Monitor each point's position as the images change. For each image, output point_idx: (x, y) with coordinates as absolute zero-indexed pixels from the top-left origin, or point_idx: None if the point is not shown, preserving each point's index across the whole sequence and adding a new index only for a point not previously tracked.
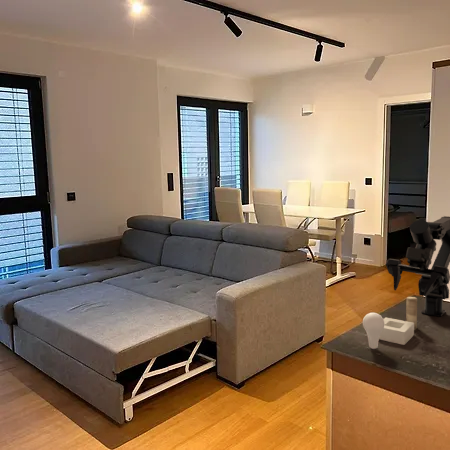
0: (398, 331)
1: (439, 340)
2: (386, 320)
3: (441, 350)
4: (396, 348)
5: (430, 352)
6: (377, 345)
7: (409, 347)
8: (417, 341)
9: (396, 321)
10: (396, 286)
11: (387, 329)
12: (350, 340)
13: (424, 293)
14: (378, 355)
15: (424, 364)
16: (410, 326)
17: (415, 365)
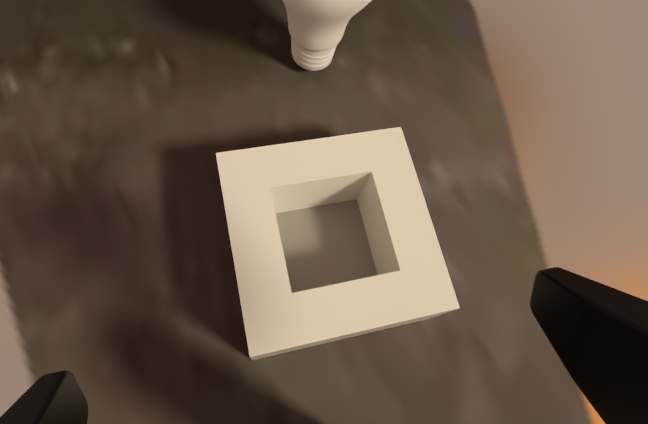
0: (255, 149)
1: None
2: (415, 256)
3: (23, 260)
4: (233, 128)
5: (69, 195)
6: (292, 48)
7: (187, 179)
8: (189, 283)
9: (357, 287)
10: (575, 329)
11: (323, 140)
12: (438, 75)
13: (55, 382)
14: (255, 23)
15: (48, 61)
16: (235, 270)
17: (79, 31)
